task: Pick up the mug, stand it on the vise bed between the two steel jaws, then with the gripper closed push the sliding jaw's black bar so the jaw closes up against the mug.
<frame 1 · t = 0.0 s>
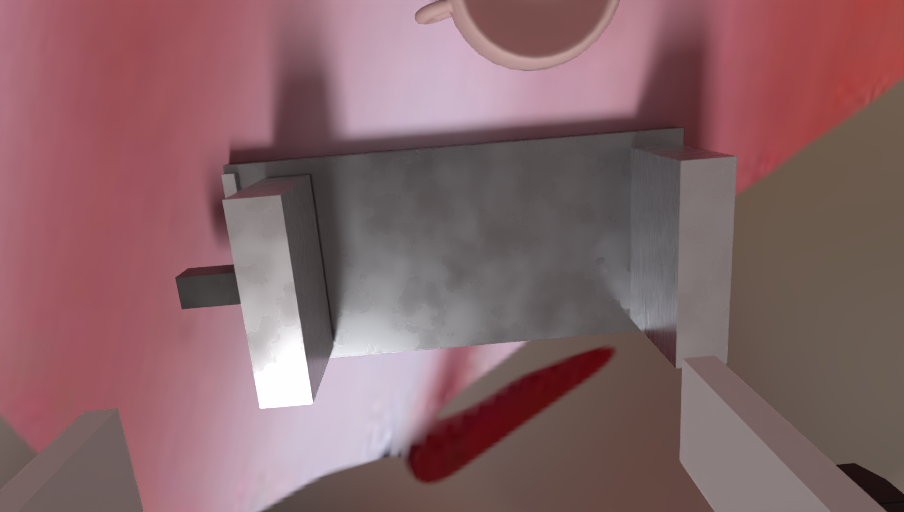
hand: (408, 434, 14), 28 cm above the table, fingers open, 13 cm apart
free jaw: (245, 287, 36), point 5 cm above the table, slide at 0.0 cm
vise bed: (461, 246, 42), on the table
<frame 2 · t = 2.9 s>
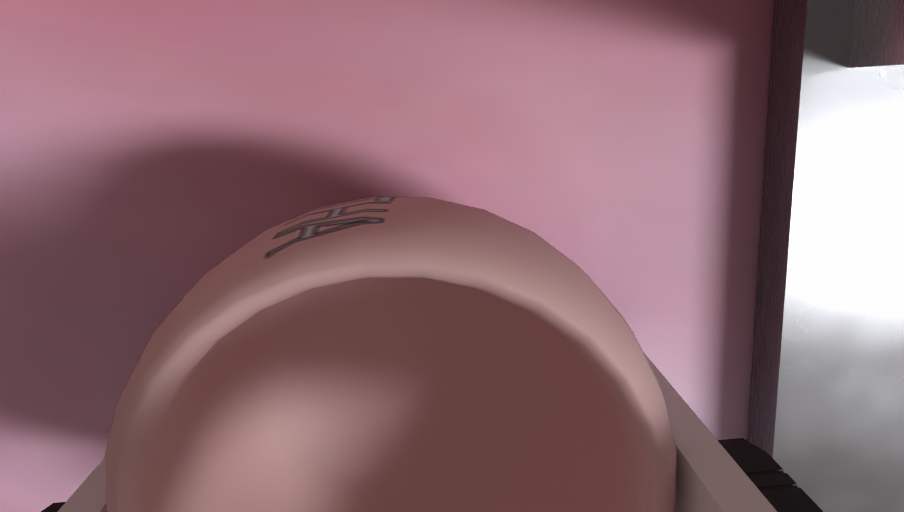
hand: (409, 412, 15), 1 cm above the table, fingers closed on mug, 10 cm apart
mug: (419, 395, 16), on the table, touching gripper
when the fingers open (3 cm above the table, at t = 8.3 s): mug drops 1 cm, resting on vise bed.
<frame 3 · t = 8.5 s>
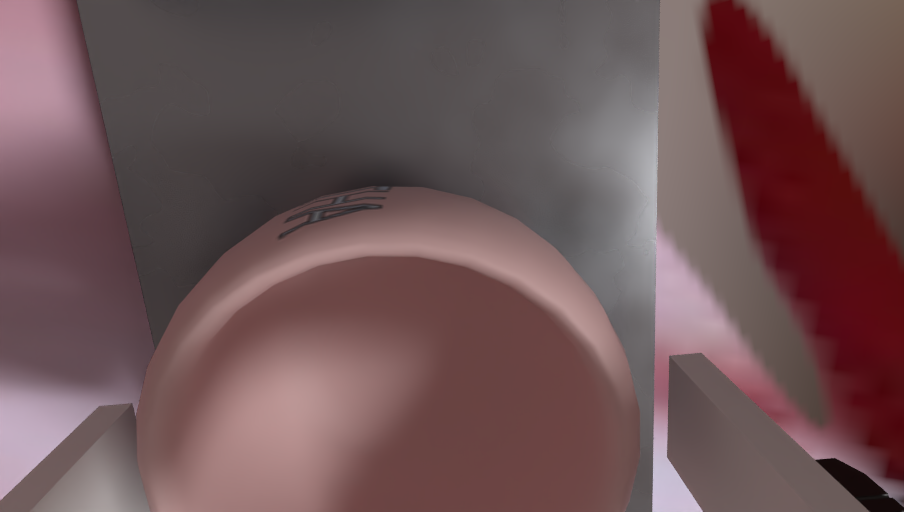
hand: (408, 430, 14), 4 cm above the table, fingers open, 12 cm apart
mug: (414, 370, 17), point 1 cm above the table, touching vise bed
vise bed: (415, 384, 18), on the table
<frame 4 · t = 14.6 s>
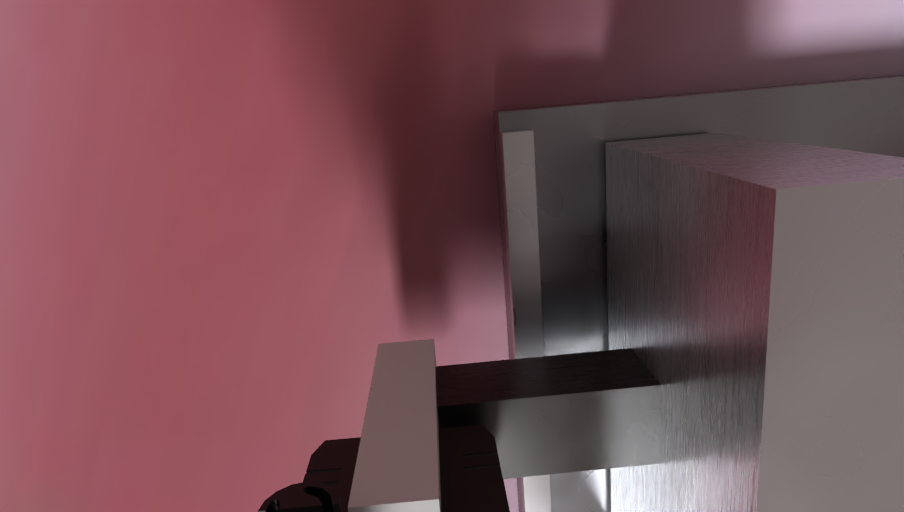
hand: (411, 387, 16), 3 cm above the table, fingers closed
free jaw: (616, 429, 13), point 5 cm above the table, slide at 0.3 cm, touching gripper
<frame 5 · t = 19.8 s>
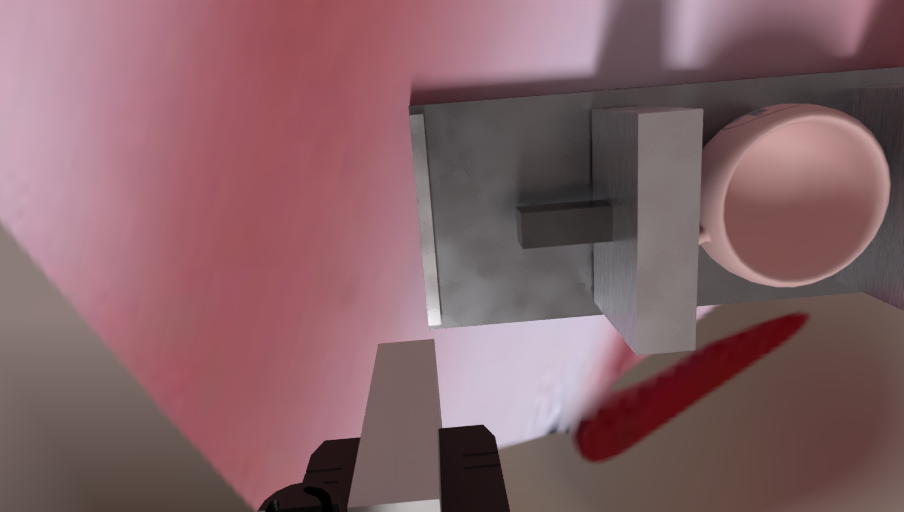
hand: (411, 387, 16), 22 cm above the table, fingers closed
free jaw: (594, 225, 33), point 5 cm above the table, slide at 8.1 cm
mug: (729, 191, 37), point 1 cm above the table, touching vise bed
vise bed: (654, 200, 38), on the table
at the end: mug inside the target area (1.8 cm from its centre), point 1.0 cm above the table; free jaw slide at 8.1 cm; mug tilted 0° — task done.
